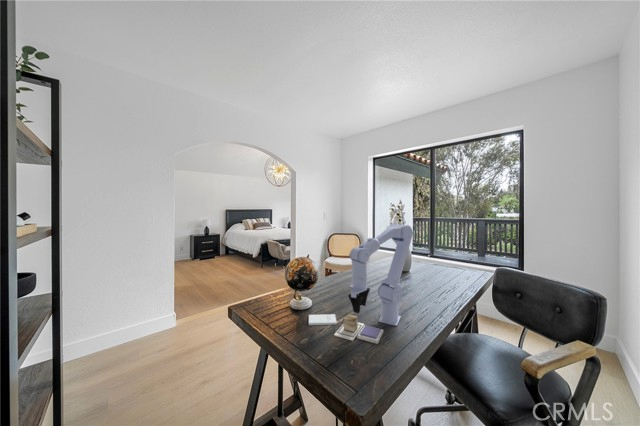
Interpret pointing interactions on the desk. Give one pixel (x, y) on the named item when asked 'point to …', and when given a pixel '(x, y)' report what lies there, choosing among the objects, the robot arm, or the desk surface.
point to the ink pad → (370, 334)
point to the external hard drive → (322, 319)
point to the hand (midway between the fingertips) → (359, 308)
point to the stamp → (350, 323)
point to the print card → (347, 334)
